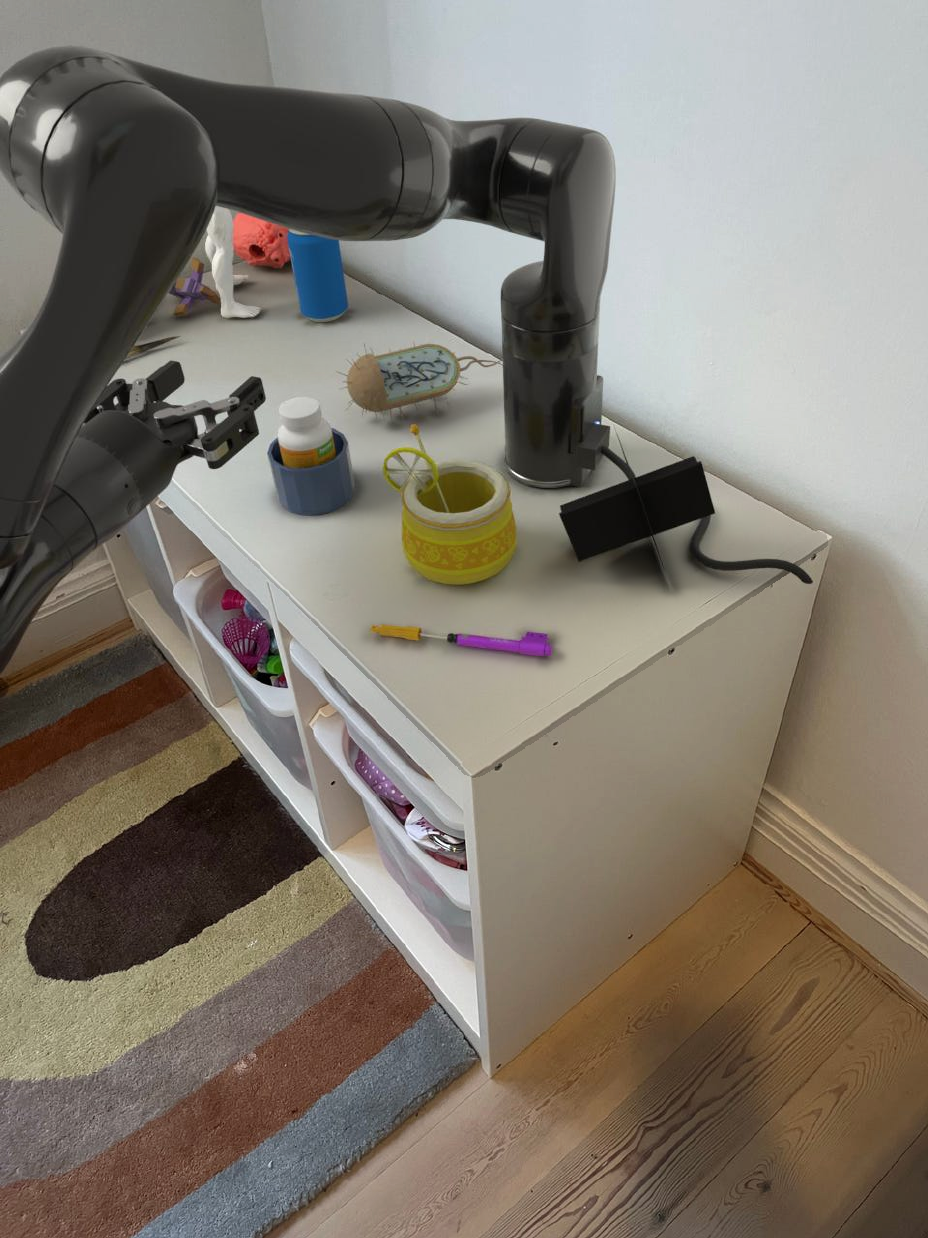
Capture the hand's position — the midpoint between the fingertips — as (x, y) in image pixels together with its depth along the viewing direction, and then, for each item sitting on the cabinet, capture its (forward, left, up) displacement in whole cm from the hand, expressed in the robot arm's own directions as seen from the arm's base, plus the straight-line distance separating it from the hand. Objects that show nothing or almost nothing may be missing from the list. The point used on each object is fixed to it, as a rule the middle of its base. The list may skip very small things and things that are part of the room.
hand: (218, 377), depth 84 cm
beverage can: (+18, -44, -18) cm, 51 cm away
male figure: (+32, -43, -17) cm, 57 cm away
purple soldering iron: (-33, +4, -17) cm, 37 cm away
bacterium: (-6, -27, -18) cm, 33 cm away
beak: (+36, -26, -18) cm, 48 cm away
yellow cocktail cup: (-19, -5, -18) cm, 27 cm away
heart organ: (+36, -57, -17) cm, 69 cm away
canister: (-2, -8, -17) cm, 19 cm away
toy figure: (+37, -38, -13) cm, 55 cm away
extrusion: (-38, -5, -12) cm, 40 cm away
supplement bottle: (-2, -8, -17) cm, 19 cm away
